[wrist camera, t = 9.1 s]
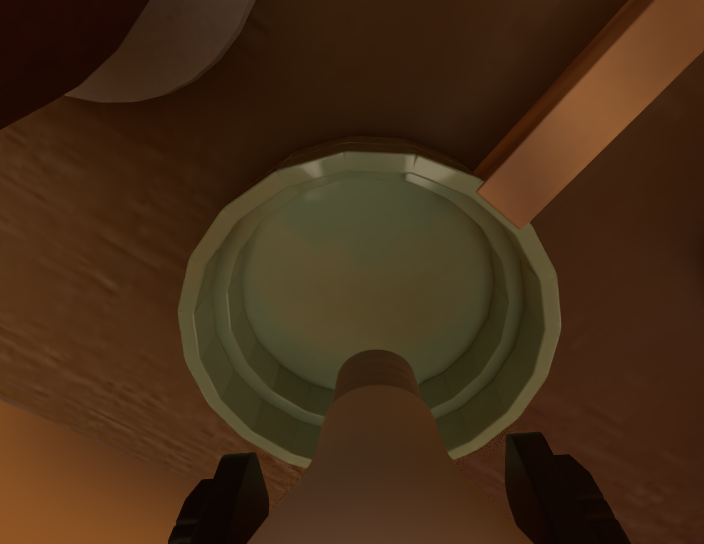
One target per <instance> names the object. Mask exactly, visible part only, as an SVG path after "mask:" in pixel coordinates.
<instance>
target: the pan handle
mask: <svg viewBox="0 0 704 544" xmlns="http://www.w3.org/2000/svg"><path fill="white" fill-rule="evenodd" d="M703 50H704V0H628V1H627V3H626V4H625V5H624V6H623V7H622V8H621V9H620V10H619V11H618V12H617V14H616V15H615V16H614V17H613V18H612V19H611V20H610V21H609V22H608V23H607V25H606V26H605V27H604V28H603V29H602V30H601V31H600V32H599V33H598V35H597V36H596V37H595V38H594V39H593V40H592V41H591V42H590V43H589V44H588V46H587V47H586V48H585V49H584V50H583V51H582V52H581V53H580V54H579V55H578V57H577V58H576V59H575V60H574V61H573V62H572V63H571V64H570V65H569V66H568V68H567V69H566V70H565V71H564V72H563V73H562V74H561V75H560V76H559V78H558V79H557V80H556V81H555V82H554V83H553V84H552V85H551V86H550V87H549V89H548V90H547V91H546V92H545V93H544V94H543V95H542V96H541V97H540V98H539V100H538V101H537V102H536V103H535V104H534V105H533V106H532V107H531V108H530V110H529V111H528V112H527V113H526V114H525V115H524V116H523V117H522V118H521V119H520V121H519V122H518V123H517V124H516V125H515V126H514V127H513V128H512V129H511V130H510V132H509V133H508V134H507V135H506V136H505V137H504V138H503V139H502V140H501V141H500V143H499V144H498V145H497V146H496V147H495V148H494V149H493V150H492V151H491V153H490V154H489V155H488V156H487V157H486V158H485V159H484V160H483V161H482V162H481V164H480V165H479V166H478V167H477V168H476V169H475V170H474V171H473V173H475V174H476V175H477V176H478V177H480V178H481V179H482V180H483V181H484V182H483V183H482V184H481V186H480V187H479V188H478V189H477V190H476V193H477V194H478V195H479V196H480V197H482V198H483V199H484V200H485V201H486V202H487V203H489V204H490V205H491V206H492V207H493V208H494V209H496V210H497V211H498V212H499V213H500V214H501V215H502V216H504V217H505V218H506V219H507V220H508V221H509V222H511V223H512V224H513V225H514V226H515V227H516V228H518V229H519V230H522V229H523V228H524V227H525V226H526V225H527V224H528V223H529V222H530V221H531V220H532V219H533V218H534V217H535V216H536V215H537V214H538V213H539V212H540V211H541V210H542V209H543V208H544V207H545V206H546V205H547V204H548V203H549V202H550V201H551V200H552V199H553V198H554V197H555V196H556V195H557V194H558V193H559V192H560V191H561V190H562V189H563V188H564V187H565V186H566V185H567V184H568V183H569V182H570V181H571V180H573V179H574V178H575V177H576V176H577V175H578V174H579V173H580V172H581V171H582V170H583V169H584V168H585V167H586V166H587V165H588V164H589V163H590V162H591V161H592V160H593V159H594V158H595V157H596V156H597V155H598V154H599V153H600V152H601V151H602V150H603V149H604V148H605V147H606V146H607V145H608V144H609V143H610V142H611V141H612V140H613V139H614V138H615V137H616V136H617V135H618V134H619V133H620V132H621V131H622V130H623V129H624V128H625V127H626V126H627V125H628V124H629V123H630V122H631V121H632V120H633V119H634V118H635V117H636V116H637V115H639V114H640V113H641V112H642V111H643V110H644V109H645V108H646V107H647V106H648V105H649V104H650V103H651V102H652V101H653V100H654V99H655V98H656V97H657V96H658V95H659V94H660V93H661V92H662V91H663V90H664V89H665V88H666V87H667V86H668V85H669V84H670V83H671V82H672V81H673V80H674V79H675V78H676V77H677V76H678V75H679V74H680V73H681V72H682V71H683V70H684V69H685V68H686V67H687V66H688V65H689V64H690V63H691V62H692V61H693V60H694V59H695V58H696V57H697V56H698V55H699V54H700V53H701V52H702V51H703Z"/></svg>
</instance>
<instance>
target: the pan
mask: <svg viewBox="0 0 704 544" xmlns="http://www.w3.org/2000/svg"><path fill="white" fill-rule="evenodd" d="M483 182H484V181H483V180H482V179H481V178H480V177H478V176H477V175H476V174H475V173H473V172H472V171H471V170H470V169H468V168H467V167H466V166H465V165H463V164H462V163H461V162H460V161H458V160H456V159H455V158H454V157H451V156H448V155H446V154H443V153H441V152H438V151H436V150H433V149H431V148H428V147H426V146H423V145H421V144H418V143H416V142H413V141H410V140H408V139H404V138H391V137H368V136H348V137H347V136H345V137H341V138H338V139H335V140H331V141H328V142H324V143H321V144H317V145H314V146H311V147H307V148H304V149H300V150H297V151H295V152H292V153H291V154H289V155H288V156H287V157H285V158H284V159H282V160H281V161H280V162H278V163H277V164H275V165H274V166H273V167H271V168H270V169H268V170H267V171H266V172H264V173H263V174H261V175H260V176H259V177H257V178H256V179H254V180H253V181H252V182H251V183H249V184H248V185H247V186H246V187H245V188H244V189H243V190H242V191H241V192H240V193H239V194H238V195H237V196H235V197H234V198H233V199H232V200H231V201H230V202H229V203H228V204H227V205H226V206H225V207H224V208H223V209H222V210H221V211H220V212H219V214H218V215H217V217H216V218H215V220H214V221H213V223H212V224H211V226H210V227H209V229H208V230H207V232H206V233H205V234H204V236H203V237H202V239H201V240H200V242H199V243H198V245H197V246H196V248H195V249H194V251H193V252H192V254H191V255H190V258H189V259H188V264H187V268H186V273H185V277H184V282H183V286H182V291H181V295H180V300H179V304H178V312H177V313H178V320H179V326H180V333H181V339H182V346H183V352H184V359H185V362H186V364H187V366H188V368H189V370H190V372H191V374H192V375H193V377H194V379H195V381H196V383H197V385H198V387H199V388H200V390H201V392H202V394H203V396H204V398H205V399H206V401H207V403H208V404H209V406H210V407H211V408H212V409H213V410H214V411H215V412H216V413H217V414H218V415H219V416H220V417H221V418H222V419H223V420H224V421H225V422H226V423H227V424H228V425H229V426H230V427H231V428H232V429H234V430H235V431H236V432H237V433H238V434H239V435H240V436H241V437H242V438H244V439H245V440H246V441H248V442H250V443H252V444H254V445H255V446H257V447H259V448H261V449H263V450H264V451H266V452H268V453H270V454H272V455H273V456H275V457H277V458H279V459H281V460H282V461H284V462H287V463H289V464H292V465H296V466H300V467H303V468H308V466H309V465H310V463H311V461H312V460H313V457H314V454H315V451H316V449H317V446H318V443H319V438H320V432H321V427H322V423H323V420H324V417H325V415H326V413H327V411H328V410H329V408H330V407H331V405H332V403H333V399H334V391H335V385H336V381H337V376H338V373H339V370H340V368H341V367H342V365H343V364H344V363H345V362H346V361H347V360H348V359H349V358H350V357H352V356H353V355H355V354H357V353H360V352H362V351H366V350H374V349H379V350H387V351H390V352H393V353H396V354H398V355H400V356H401V357H402V358H404V359H405V360H406V361H407V362H408V363H409V364H410V366H411V368H412V369H413V372H414V375H415V378H416V380H417V383H418V386H419V390H420V393H421V397H422V401H423V402H424V403H425V404H426V405H427V406H428V408H429V409H430V411H431V413H432V414H433V416H434V419H435V422H436V425H437V428H438V431H439V435H440V438H441V440H442V442H443V444H444V446H445V448H446V450H447V452H448V454H449V456H450V457H451V458H452V460H455V459H458V458H460V457H462V456H464V455H467V454H469V453H471V452H474V451H476V450H478V448H481V447H482V446H484V445H485V444H486V443H487V442H489V441H490V440H491V439H493V438H494V437H495V436H496V435H498V434H499V433H500V432H501V431H503V430H504V429H505V428H507V427H508V426H509V425H510V424H512V423H513V422H514V421H515V420H517V419H518V417H520V415H521V414H522V413H523V411H524V410H525V408H526V407H527V405H528V404H529V403H530V401H531V400H532V398H533V397H534V396H535V394H536V393H537V391H538V390H539V388H540V387H541V386H542V384H543V383H544V381H545V380H546V379H547V376H548V374H549V370H550V367H551V363H552V360H553V356H554V353H555V349H556V346H557V342H558V339H559V336H560V332H561V326H562V325H561V314H560V302H559V291H558V280H557V275H556V271H555V269H554V267H553V265H552V263H551V261H550V259H549V257H548V255H547V253H546V251H545V249H544V247H543V245H542V243H541V242H540V240H539V238H538V236H537V234H536V232H535V230H534V228H533V226H532V224H531V223H530V222H529V223H528V224H527V225H526V226H525V227H524V228H523V229H522V230H519V229H518V228H516V227H515V226H514V225H513V224H512V223H511V222H509V221H508V220H507V219H506V218H505V217H504V216H502V215H501V214H500V213H499V212H498V211H497V210H496V209H494V208H493V207H492V206H491V205H490V204H489V203H487V202H486V201H485V200H484V199H483V198H482V197H480V196H479V195H478V194H477V193H476V190H477V189H478V188H479V187H480V186H481V184H482V183H483Z"/></svg>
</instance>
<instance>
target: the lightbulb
mask: <svg viewBox="0 0 704 544" xmlns="http://www.w3.org/2000/svg"><path fill="white" fill-rule="evenodd" d="M247 544H534V543H533V542H532V541H531V540H530V539H529V538H528V537H527V536H526V535H525V534H524V533H523V532H522V531H521V530H520V529H519V528H518V527H517V526H516V525H515V524H514V523H513V521H512V520H511V519H510V518H509V517H508V516H507V515H506V514H505V513H504V512H503V511H502V510H501V509H500V508H499V507H498V506H497V505H496V504H495V503H494V502H493V501H492V500H491V499H490V497H489V496H488V495H487V494H486V493H485V492H484V491H483V490H481V489H480V488H479V487H478V486H477V485H476V484H475V483H473V482H472V481H471V480H470V479H469V478H468V477H467V476H465V475H464V474H463V473H462V471H461V470H460V469H459V467H458V466H457V465H456V464H455V462H454V461H453V460H452V458H451V457H450V456H449V454H448V452H447V450H446V448H445V446H444V444H443V442H442V440H441V438H440V435H439V431H438V428H437V425H436V422H435V419H434V416H433V414H432V413H431V411H430V409H429V408H428V406H427V405H426V404H425V403H424V402H423V401H422V397H421V393H420V390H419V386H418V383H417V380H416V378H415V375H414V372H413V369H412V368H411V366H410V364H409V363H408V362H407V361H406V360H405V359H404V358H402V357H401V356H400V355H398V354H396V353H393V352H390V351H387V350H379V349H374V350H366V351H362V352H360V353H357V354H355V355H353V356H352V357H350V358H349V359H348V360H347V361H346V362H345V363H344V364H343V365H342V367H341V368H340V370H339V373H338V376H337V381H336V385H335V391H334V399H333V403H332V405H331V407H330V408H329V410H328V411H327V413H326V415H325V417H324V420H323V423H322V427H321V432H320V438H319V443H318V446H317V449H316V451H315V454H314V457H313V460H312V461H311V463H310V465H309V466H308V468H307V470H306V471H305V473H304V475H303V476H302V478H301V479H300V480H299V481H298V482H297V484H296V485H295V486H294V487H293V488H292V489H291V490H290V491H289V492H288V493H287V494H286V495H285V496H284V497H283V498H282V500H281V501H280V502H279V503H278V504H277V505H276V507H275V508H274V509H273V511H272V512H271V513H270V514H269V516H268V517H267V518H266V520H265V521H264V522H263V523H262V525H261V526H260V527H259V529H258V530H257V531H256V532H255V534H254V535H253V536H252V538H251V539H250V540H249V541H248V543H247Z"/></svg>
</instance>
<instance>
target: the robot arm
mask: <svg viewBox="0 0 704 544" xmlns="http://www.w3.org/2000/svg"><path fill="white" fill-rule="evenodd" d="M505 487H506V493H507V498H508V502H509V505H510V508H511V511H512V514H513V517H514V520H515V523H516V525H517V527H518V528H519V529H520V530H521V531H522V532H523V533H524V534H525V535H526V536H527V537H528V538H529V539H530V540H531V541H532V542H533V543H534V544H631V543H630V541H629V539H628V537H627V536H626V534H625V532H624V531H623V529H622V527H621V526H620V524H619V522H618V520H616V519H615V517H614V514H613V512H612V510H611V508H610V507H609V505H608V503H607V502H606V500H604V498H603V495H602V493H601V491H600V490H599V488H598V486H597V484H596V483H595V481H594V479H593V478H592V476H591V474H590V473H589V472H588V471H587V470H586V469H585V468H584V467H583V466H582V465H580V464H579V463H578V462H577V461H576V460H575V459H574V458H573V457H572V456H570V455H569V454H567V455H553V453H552V451H551V449H550V447H549V445H548V443H547V441H546V439H545V438H544V436H543V435H542V433H540V432H531V433H517V434H508V435H507V437H506V457H505ZM268 516H269V497H268V492H267V489H266V485H265V482H264V478H263V475H262V472H261V468H260V465H259V461H258V458H257V455H256V454H255V453H254V452H253V453H240V454H226V455H224V456H223V457H222V458H221V460H220V462H219V465H218V468H217V470H216V473H215V476H214V478H213V479H202V480H201V481H200V482H199V484H198V485H197V486H196V487H195V489H194V490H193V491H192V492H191V493H190V495H189V496H188V497H187V498H186V499H185V502H184V504H183V506H182V509H181V511H180V514H179V516H178V518H177V521H176V526H174V528H173V530H172V533H171V535H170V537H169V540H168V544H247V543H248V541H249V540H250V539H251V538H252V536H253V535H254V534H255V532H256V531H257V530H258V529H259V527H260V526H261V525H262V523H263V522H264V521H265V520H266V518H267V517H268Z"/></svg>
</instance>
